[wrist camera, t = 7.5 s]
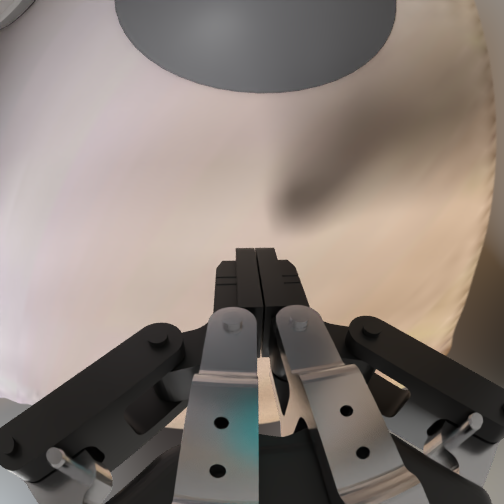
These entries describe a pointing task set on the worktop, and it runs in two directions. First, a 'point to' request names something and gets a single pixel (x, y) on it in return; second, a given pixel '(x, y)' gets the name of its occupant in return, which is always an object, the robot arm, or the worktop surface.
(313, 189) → the worktop surface
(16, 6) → the travel mug
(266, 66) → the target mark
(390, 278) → the worktop surface
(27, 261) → the worktop surface
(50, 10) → the worktop surface
